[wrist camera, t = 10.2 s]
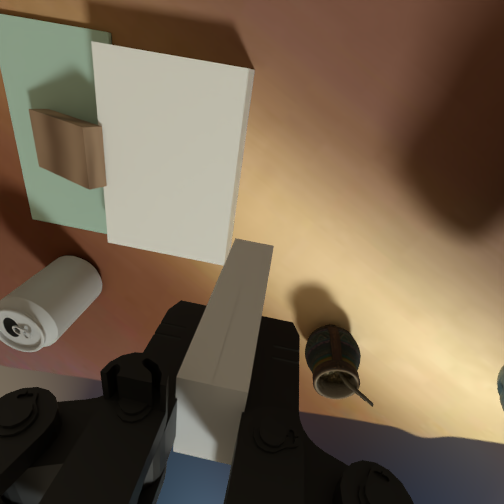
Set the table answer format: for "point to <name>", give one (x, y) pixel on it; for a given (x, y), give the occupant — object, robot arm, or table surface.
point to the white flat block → (171, 149)
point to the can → (48, 303)
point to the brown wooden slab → (69, 147)
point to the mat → (54, 98)
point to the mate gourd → (334, 362)
